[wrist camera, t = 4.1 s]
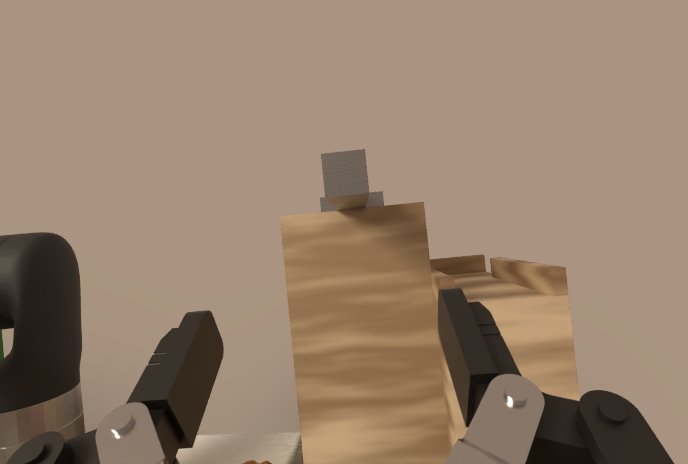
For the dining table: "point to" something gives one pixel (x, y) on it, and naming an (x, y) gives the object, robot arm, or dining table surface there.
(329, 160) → the t handle
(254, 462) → the pastry
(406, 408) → the stand
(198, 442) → the dining table surface
